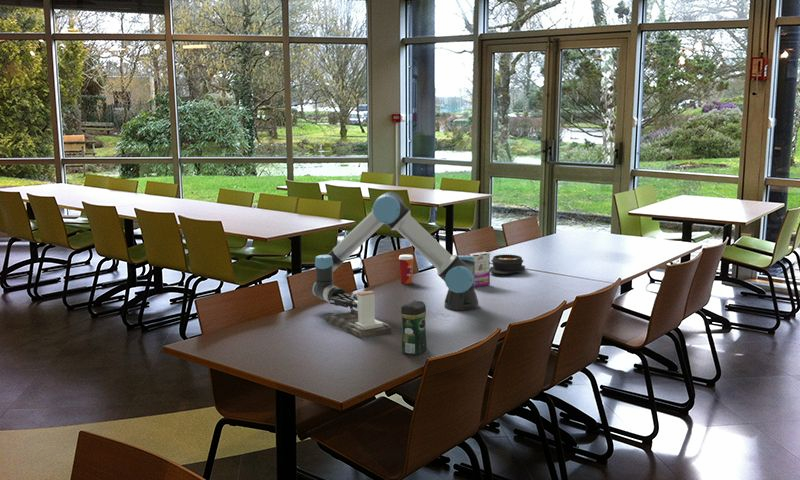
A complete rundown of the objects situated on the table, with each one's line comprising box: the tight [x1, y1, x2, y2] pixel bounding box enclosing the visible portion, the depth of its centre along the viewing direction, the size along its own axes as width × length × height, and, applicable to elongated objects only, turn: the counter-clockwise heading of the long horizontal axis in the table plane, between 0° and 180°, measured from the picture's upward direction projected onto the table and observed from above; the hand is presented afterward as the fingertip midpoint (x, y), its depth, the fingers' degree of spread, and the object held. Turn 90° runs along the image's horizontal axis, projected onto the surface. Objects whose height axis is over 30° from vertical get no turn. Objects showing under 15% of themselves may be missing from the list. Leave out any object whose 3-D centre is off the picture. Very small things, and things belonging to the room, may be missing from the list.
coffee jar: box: [400, 300, 428, 355], centre depth 285 cm, size 10×8×19 cm
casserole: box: [490, 254, 526, 275], centre depth 417 cm, size 25×19×8 cm
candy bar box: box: [465, 251, 491, 288], centre depth 386 cm, size 11×5×16 cm, turn 117°
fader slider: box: [355, 290, 383, 330], centre depth 310 cm, size 7×9×14 cm
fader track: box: [325, 308, 393, 339], centre depth 319 cm, size 30×14×3 cm, turn 32°
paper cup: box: [398, 254, 414, 285], centre depth 395 cm, size 8×8×14 cm
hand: (362, 307), depth 314 cm, fingers closed
